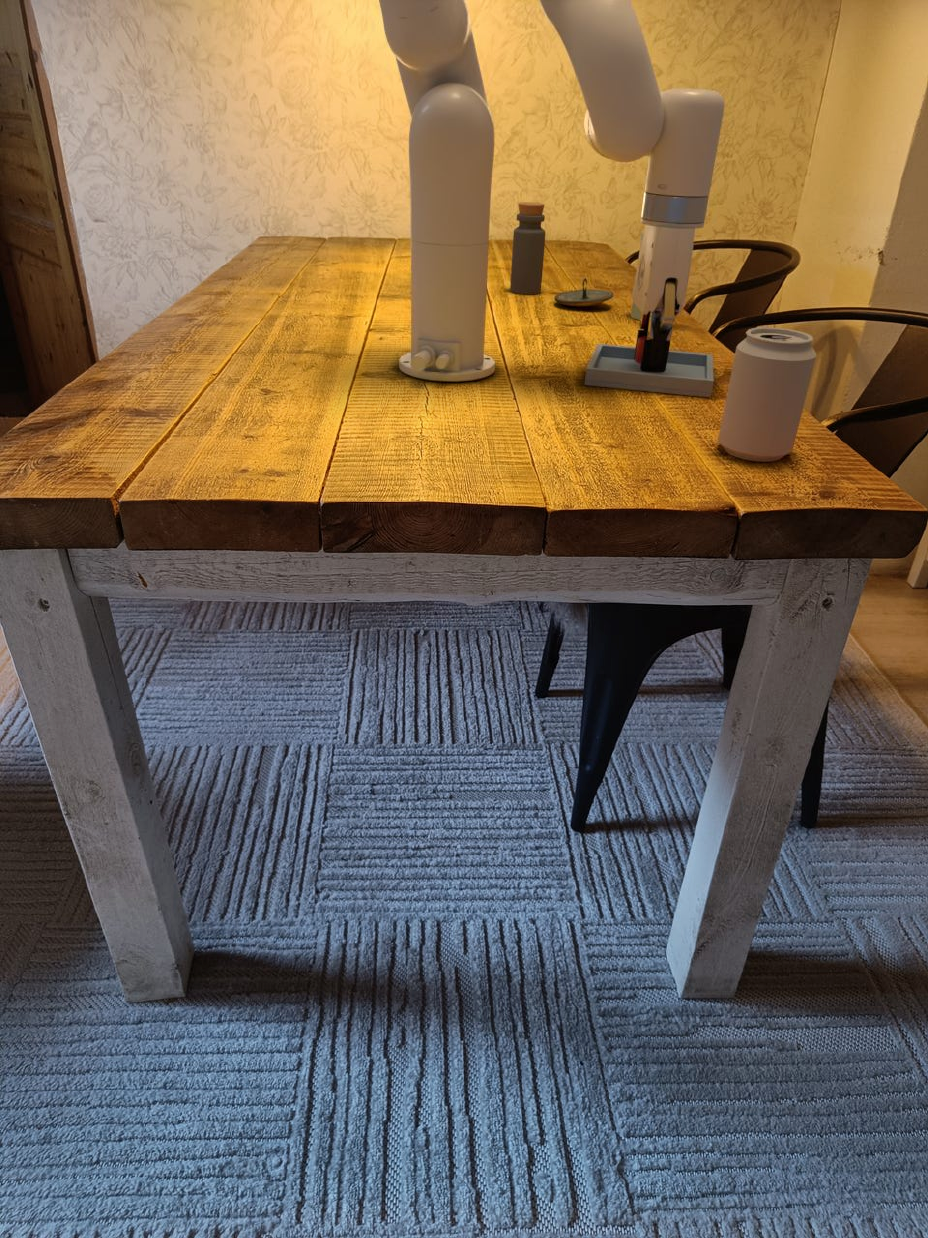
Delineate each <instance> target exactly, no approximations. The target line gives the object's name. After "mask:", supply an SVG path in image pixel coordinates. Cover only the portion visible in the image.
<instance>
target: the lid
mask: <svg viewBox="0 0 928 1238" xmlns="http://www.w3.org/2000/svg"><path fill="white" fill-rule="evenodd" d="M587 283H588V280H587V278H585V277H584V278H583V279H582V283H581V284H582V285H581V287H582V289H576V290H569V291H563V292H561V293H558V294H556V295H555V296H554V297H553V299H554V301H555V302H557V303H559V304H562V305H565V306H569V307H570V306H571V307H580V308H582V307H589V306H599V305H602V304H603V303H605V302H607V301H610V300H611V299H613V298H614V293H613V292H612V291H609V290H605V289H604V290H603V289H587V286H585V285H587Z"/></svg>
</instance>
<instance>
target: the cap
mask: <svg viewBox="0 0 928 1238" xmlns="http://www.w3.org/2000/svg"><path fill="white" fill-rule="evenodd" d="M644 339H647V336H643V337H639V338H638V342H637V341H636V342H637V349H636V356H635V361H636V362H637V363H639V364H641V358H642V352H643V345H644Z"/></svg>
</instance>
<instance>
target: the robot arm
mask: <svg viewBox="0 0 928 1238" xmlns="http://www.w3.org/2000/svg"><path fill="white" fill-rule="evenodd" d="M378 2H379V7H380V13H381V17H382V23H383V31H384V35H385V38H386V39H385V40H386V42H387V44H388V46H389V48H390V50H391V52H392V53H393V55H394V56H395V61H396V64H397V68H398V71H399V76H400V80H401V83H402V87H403V92H404V94H405V99H406V103H407V106H408V110H409V113H410V117H411V119H410V124H409V131H408V166H409V167H408V169H409V207H410V213H409V214H410V220H409V221H410V351H409V352H407V353H404V354H403V355H401V356H400V357H399V359H398V369H399V370H400V372H403V373H404V374H405V375H408V376H410V377H413V378H416V379H421V380H427V381H436V382H469V381H475V380H480V379H484V378H487V377H489V376H491V375H492V374H494V373H495V371H496V361H495V359H493V358H492V357H491V356H489V355H487V354H485V340H486V339H485V337H486V316H487V295H488V293H487V292H488V273H489V271H488V270H489V251H490V250H489V249H490V223H491V221H490V218H491V202H492V201H491V200H492V198H491V197H492V184H493V182H492V181H493V167H494V157H495V124H494V119H493V115H492V112H491V110H490V108H489V107H490V106H489V103H488V98H487V94H486V90H485V86H484V82H483V75H482V70H481V67H480V61H479V58H478V52H477V48H476V43H475V38H474V34H473V29H472V23H471V19H470V14H469V8H468V3H467V1H466V0H378ZM538 3H539V5H540V6H541V9H542V11H543V14H544V16H545V17H546V19H547V21H548V22H549V23H550V25H551V26H552V27H553V29H554V30H555V32H556V33H557V35H558V37H559V38H560V41H561V42H562V44H563V46H564V49H565V51H566V53H567V56H568V59H569V61H570V63H571V66H572V69H573V71H574V74H575V76H576V80H577V83H578V85H579V89H580V91H581V94H582V97H583V101H584V103H585V104H584V105H585V107H586V111H585V114H584V121H583V122H584V123H583V124H584V125H583V126H584V134H585V137H586V140H587V142H588V145H590V147H591V149H593V150H594V151H595V153H597V154H598V155H599V156H601V157H602V158H606V159H608V160H612V161H615V162H619V163H632V162H635V161H638V160H641V159H642V158H644V157H648V164H647V171H646V177H645V178H646V179H645V184H644V192H643V199H642V207H641V212H640V213H641V214H640V221H639V223H640V224H642V225H645V227H644V229H643V230H644V235H643V239H642V244H641V249H640V248H639V250H640V254H639V253H638V258H639V260H638V259H637V266H636V272H635V277H634V282H633V289H632V294H631V300H632V303H633V302H634V304H635V305H636V306H637V307H638V309H639V310H640V311H641V312H642V313H641V319H640V320H639V329H638V330H637V335H636V342H635V347H636V348H635V355H634V360H635V356H636V349H637V342H638V338H639V337H643V336H647V339H644V345H643V352H642V358H641V365H640V369H641V371H643V372H661V373H663V372H665V370H666V365H667V359H668V353H669V350H670V347H671V340H672V334H673V325H674V322H675V317H678V316H679V315H680V314H681V313H682V312H683V309H684V304H685V301H686V296H687V292H688V284H689V279H690V272H691V265H692V259H693V251H694V243H695V234H696V230H697V229H702V228H704V226H705V221H706V215H707V209H708V205H709V198H710V197H709V196H710V193H711V186H712V181H713V176H714V170H715V164H716V158H717V153H718V147H719V142H720V135H721V132H722V131H721V130H722V125H723V118H724V114H725V99H724V96H723V95H722V94H721V93H720V92H719V91H717V90H713V89H705V88H679V87H677V88H669V89H667V90H665V91H663V90H660V87H659V84H658V81H657V77H656V74H655V70H654V66H653V64H652V60H651V57H650V53H649V50H648V47H647V43H646V40H645V37H644V34H643V30H642V28H641V25H640V22H639V20H638V16H637V14H636V11H635V9H634V6H633V3H632V1H631V0H538ZM658 312H659V313H658Z"/></svg>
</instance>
